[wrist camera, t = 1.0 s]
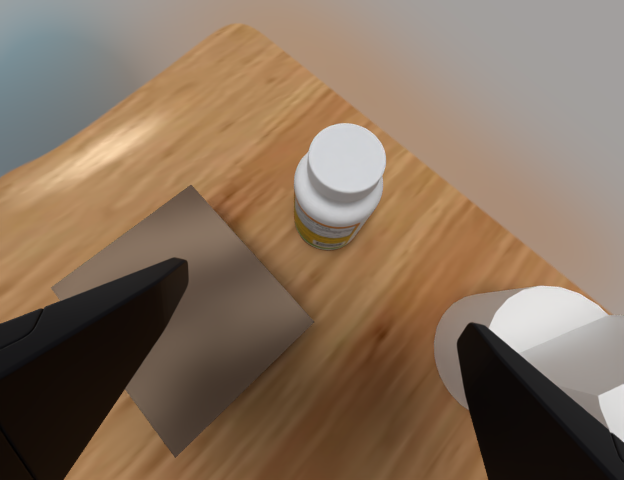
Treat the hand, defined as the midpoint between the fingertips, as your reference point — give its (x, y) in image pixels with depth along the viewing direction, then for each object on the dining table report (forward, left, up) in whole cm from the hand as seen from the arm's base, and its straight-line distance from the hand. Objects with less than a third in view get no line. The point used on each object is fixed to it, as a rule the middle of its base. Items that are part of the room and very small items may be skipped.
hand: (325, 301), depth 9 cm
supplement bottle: (+4, -6, -13) cm, 15 cm away
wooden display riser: (+5, +5, -13) cm, 15 cm away
